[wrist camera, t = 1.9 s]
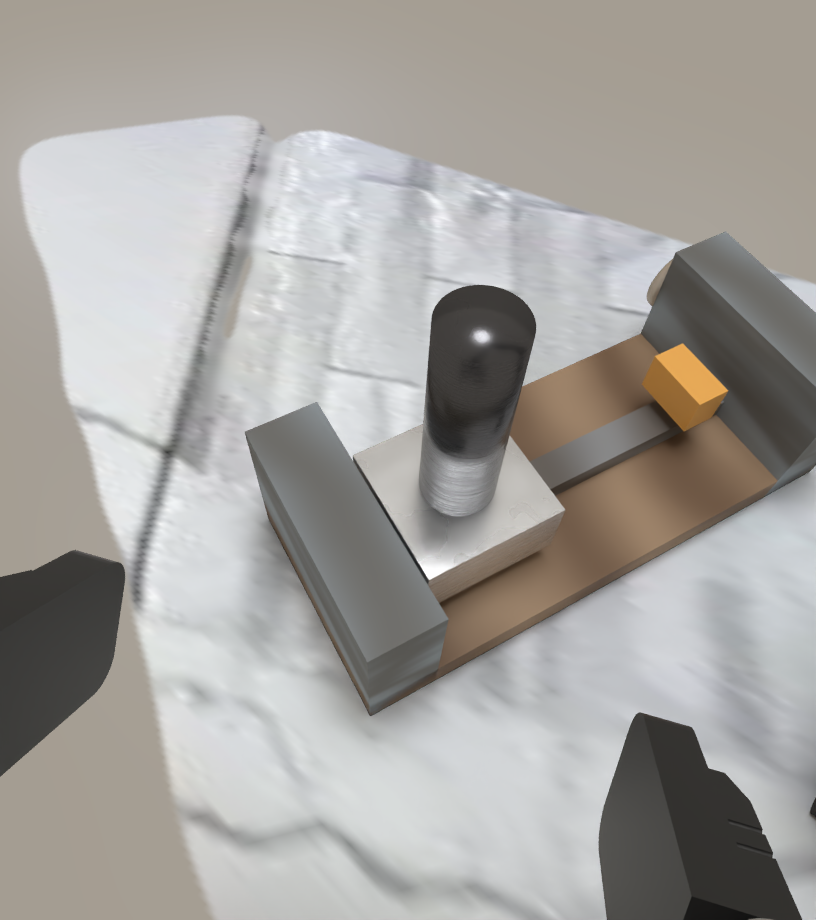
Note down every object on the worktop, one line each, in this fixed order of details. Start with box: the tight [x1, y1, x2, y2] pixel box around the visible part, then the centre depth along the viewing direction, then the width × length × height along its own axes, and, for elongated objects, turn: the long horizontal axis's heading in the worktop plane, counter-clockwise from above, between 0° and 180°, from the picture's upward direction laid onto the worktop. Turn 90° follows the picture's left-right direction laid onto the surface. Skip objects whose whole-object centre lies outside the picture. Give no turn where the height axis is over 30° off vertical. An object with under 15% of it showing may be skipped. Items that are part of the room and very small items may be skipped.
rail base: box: [245, 232, 816, 716], centre depth 33 cm, size 24×10×7 cm, turn 119°
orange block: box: [642, 344, 728, 431], centre depth 34 cm, size 2×3×2 cm, turn 29°
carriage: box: [353, 285, 565, 603], centre depth 27 cm, size 6×6×12 cm
